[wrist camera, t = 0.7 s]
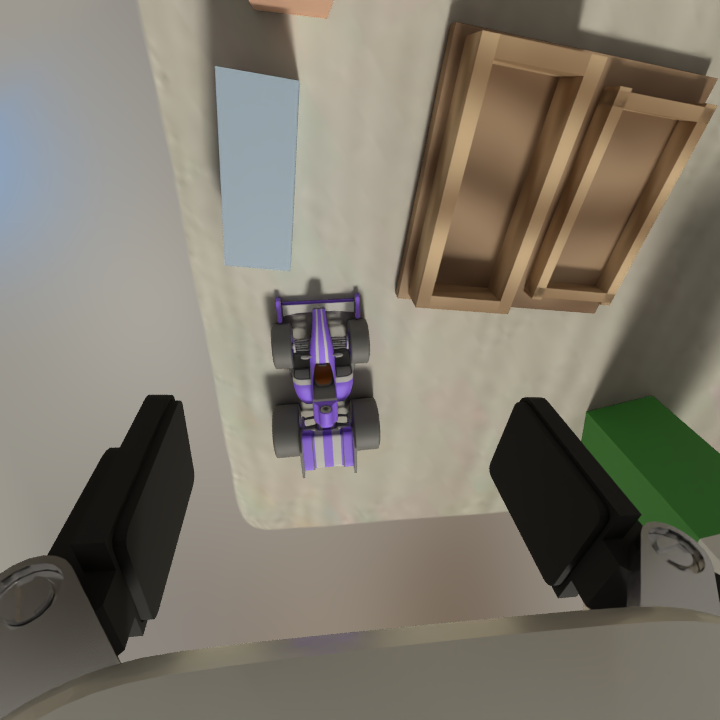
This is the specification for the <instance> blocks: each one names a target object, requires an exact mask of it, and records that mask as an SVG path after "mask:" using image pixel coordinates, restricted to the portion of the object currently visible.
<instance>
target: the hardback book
mask: <svg viewBox="0 0 720 720" xmlns="http://www.w3.org/2000/svg"><path fill="white" fill-rule="evenodd" d="M581 442H582V443H583V444H584V446H585V447H586V448H587V449H588V450H589V452H590V453H591V454H592V455H593V457H594V458H595V459H596V460H597V461H598V463H599V464H600V465H601V466H602V467H603V469H604V470H605V471H606V472H607V473H608V475H609V476H610V477H611V478H612V479H613V481H614V482H615V483H616V484H617V485H618V487H619V488H620V489H621V490H622V491H623V493H624V494H625V495H626V496H627V497H628V499H629V500H630V501H631V502H632V503H633V505H634V506H635V507H636V508H637V509H638V511H639V512H640V513H641V514H642V515H641V516H640V518H639V519H638V521H639V522H640V523H641V524H642V526H643V525H645V524H646V523H648V522H654V521H655V522H661V523H665V524H668V525H671V526H674V527H676V528H677V529H679V530H681V531H683V532H684V533H686V534H687V535H689V536H690V537H691V538H692V539H694V540H695V541H696V542H697V543H698V544H699V545H700V546H701V547H702V548H703V549H704V550H705V552H706V553H707V555H708V556H709V557H710V559H711V562H712V565H713V567H714V572H716V573H717V574H719V575H720V453H718V452H717V451H716V450H715V449H714V448H713V447H711V446H710V445H709V444H708V443H707V442H706V441H705V440H703V439H702V438H701V437H700V436H699V435H698V434H696V433H695V432H694V431H693V430H692V429H691V428H689V427H688V426H687V425H686V424H685V423H684V422H682V421H681V420H680V419H679V418H678V417H677V416H676V415H674V414H673V413H672V412H671V411H670V410H669V409H667V408H666V407H665V406H664V405H663V404H662V403H660V402H659V401H658V400H657V399H656V398H655V397H654V396H648V397H644V398H640V399H636V400H632V401H628V402H624V403H620V404H616V405H612V406H608V407H604V408H600V409H595V410H591V411H587V412H586V417H585V423H584V429H583V434H582V440H581Z"/></svg>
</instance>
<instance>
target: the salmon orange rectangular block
mask: <svg viewBox="0 0 720 720" xmlns="http://www.w3.org/2000/svg"><path fill="white" fill-rule="evenodd" d="M333 1H334V0H249V2H250V4H251V6H252V7H253V9H254V10H260V11H268V12H276V13H284V14H292V15H300V16H308V17H316V18H324V19H327V17H328V15H329V12H330V9H331V6H332V3H333Z"/></svg>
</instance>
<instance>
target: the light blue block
mask: <svg viewBox="0 0 720 720" xmlns="http://www.w3.org/2000/svg"><path fill="white" fill-rule="evenodd" d="M215 78H216V98H217V118H218V138H219V158H220V179H221V199H222V219H223V239H224V259H225V265H226V266H237V267H249V268H260V269H271V270H282V271H290V267H291V252H292V233H293V211H294V190H295V168H296V147H297V126H298V104H299V81H298V80H292V79H286V78H281V77H275V76H269V75H264V74H258V73H252V72H247V71H241V70H235V69H230V68H224V67H218V66H215Z"/></svg>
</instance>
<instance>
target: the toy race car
mask: <svg viewBox="0 0 720 720" xmlns="http://www.w3.org/2000/svg"><path fill="white" fill-rule="evenodd" d="M276 310H277V320H278V323H282V321H283V317H284V316H286V315H291V314H296V313H304V312H312V318H313V320H312V333H311V338H309V339H300V340H295V338H293V330H292V326H291V324H290V323H284V324H273V325H272V329H271V346H272V356H273V362H274V365H275V368H276V369H286V368H289V371H290V374H291V376H292V378H293V384H294V388H295V391H296V393H297V395H298V397H299V399H300V400H301V401H302V402H304V403H306V404H313V411H314V416H312V417H307V418H305V417H304V416H302V419H301V410H300V406H299V404H288V405H276V406H274V409H273V415H272V434H273V445H274V450H275V454H276V456H277V458H284V457H295V456H300V457H301V465H302V473H303V478H305V470H315V468H321V467H331V466H342V465H344V467H346V466H354V470H355V473H357V451H358V450H368V449H377V448H379V444H380V422H379V414H378V408H377V404H376V401H375V399H374V398H362V399H351V401H350V406H349V413H350V415H349V413H347V414H338V403H337V402H338V401H344V400H345V399H346V398H347V397H348V396H349V394H350V392H351V389H352V385H353V372H354V368H355V364H356V363H367V362H368V361H369V356H370V340H369V330H368V325H367V322H366V320H365V319H351V320H348V322H347V335H346V336H345V337H330V333H329V329H328V325H327V319H326V311H348V312H354V313H355V317H356V318H360V296H359V293H355V294H354V298H351V299H333V300H314V301H296V302H282V301H281V299H280V297H279V298H276ZM331 339H339V340H331ZM308 340H311V341H310V342H298V341H308ZM338 341H340V342H338ZM339 343H340V344H339ZM342 343H345V344H342ZM340 345H345V346H340ZM297 346H300V347H297ZM333 346H339V347H333ZM307 347H310V349H298V348H307ZM338 416H346V417H347V422H346V423H337V422H336V421H337V419H338ZM307 419H315V422H316V424H315V425H311V426H305V421H304V420H307ZM338 428H341V429H338ZM314 430H315V431H314Z"/></svg>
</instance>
